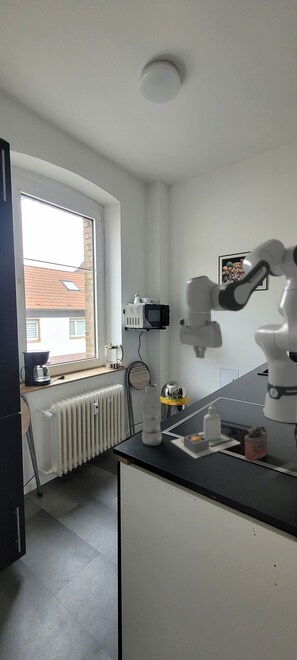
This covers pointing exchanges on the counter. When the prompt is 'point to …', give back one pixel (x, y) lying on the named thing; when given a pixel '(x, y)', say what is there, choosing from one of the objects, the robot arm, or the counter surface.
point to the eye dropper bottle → (212, 424)
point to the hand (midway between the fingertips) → (200, 357)
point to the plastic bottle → (151, 416)
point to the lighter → (255, 443)
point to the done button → (196, 438)
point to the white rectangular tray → (204, 444)
